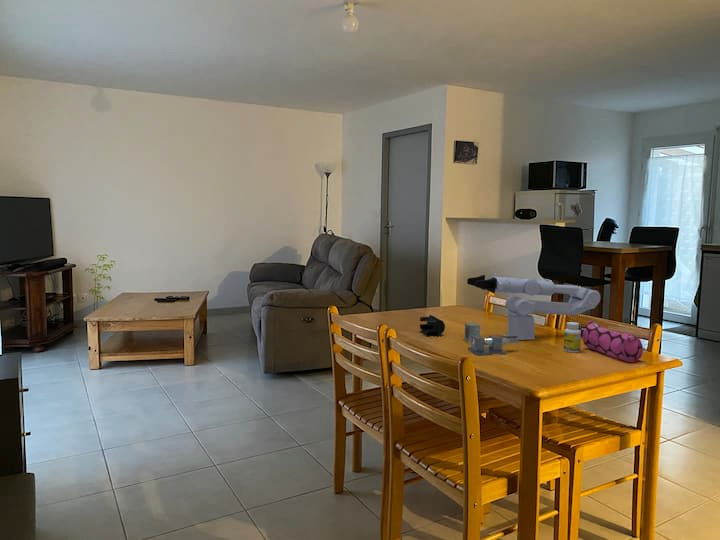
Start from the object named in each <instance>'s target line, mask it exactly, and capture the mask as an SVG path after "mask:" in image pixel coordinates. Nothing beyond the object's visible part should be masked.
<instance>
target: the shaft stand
mask: <svg viewBox="0 0 720 540" xmlns="http://www.w3.org/2000/svg"><path fill="white" fill-rule="evenodd" d="M519 342H520V340H519V339H518V337H517V336H506V337H505V336H500V335H498V334H497V335H496V334H495V335H489V336H488V337H486V338H485V337H482V336H481V335H480V336H472V337H471V343H470V345H471V346H469V347H468V349H467V350H468V351H470V352H471V353H473V354H474V355H476V356H477V355H478V356H491V355H490V354H501V355H507V352H508V351H505V350H504V349H503V345H511V344H512V345H513V344H514V345H515V344H519ZM486 345H488V346H486Z"/></svg>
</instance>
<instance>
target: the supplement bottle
mask: <svg viewBox="0 0 720 540" xmlns="http://www.w3.org/2000/svg"><path fill="white" fill-rule="evenodd" d="M579 328H580V323H579V322H576V321H575V322H574V321H569V322H568V321H567V322H566V328H565V329H564V332H563V351H565V352H567V353H579V352H580V351H581V340H582V338H581V329H579Z"/></svg>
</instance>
